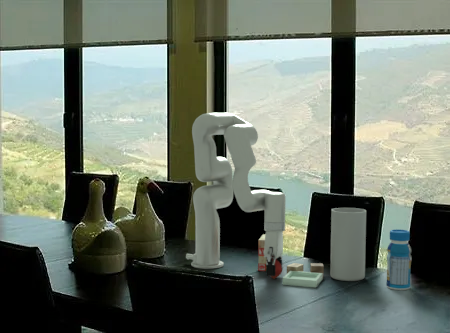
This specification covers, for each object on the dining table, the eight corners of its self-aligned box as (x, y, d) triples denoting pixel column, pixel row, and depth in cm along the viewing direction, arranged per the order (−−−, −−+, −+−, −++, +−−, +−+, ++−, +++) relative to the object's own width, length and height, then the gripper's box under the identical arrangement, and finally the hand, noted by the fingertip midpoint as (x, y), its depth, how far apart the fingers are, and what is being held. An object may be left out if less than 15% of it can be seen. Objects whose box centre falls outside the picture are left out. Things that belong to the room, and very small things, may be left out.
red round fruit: (265, 276, 265) (265, 255, 264) (280, 276, 266) (280, 255, 265) (267, 280, 259) (267, 258, 259) (283, 280, 260) (283, 258, 259)
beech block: (286, 276, 267) (286, 265, 266) (293, 273, 272) (293, 263, 271) (296, 278, 265) (296, 267, 264) (303, 274, 270) (303, 264, 269)
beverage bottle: (396, 291, 245) (398, 233, 243) (380, 286, 253) (382, 229, 251) (415, 289, 249) (417, 231, 247) (399, 283, 256) (401, 228, 255)
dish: (282, 284, 254) (282, 277, 254) (290, 277, 265) (290, 270, 265) (316, 287, 250) (316, 280, 250) (322, 279, 261) (322, 273, 261)
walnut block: (311, 278, 265) (311, 265, 264) (310, 275, 269) (310, 263, 269) (323, 278, 264) (323, 266, 264) (322, 275, 269) (322, 263, 268)
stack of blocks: (265, 259, 296) (266, 229, 295) (281, 260, 295) (281, 230, 294) (257, 271, 275) (258, 239, 274) (274, 272, 274) (274, 240, 273)
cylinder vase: (368, 275, 268) (369, 209, 266) (359, 283, 257) (361, 213, 255) (335, 272, 273) (337, 207, 271) (326, 279, 262) (327, 211, 260)
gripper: (270, 222, 270) (270, 267, 272) (258, 229, 254) (257, 277, 255) (290, 223, 268) (289, 268, 269) (279, 230, 252) (278, 279, 253)
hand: (274, 272), depth 262 cm, fingers open, 9 cm apart
